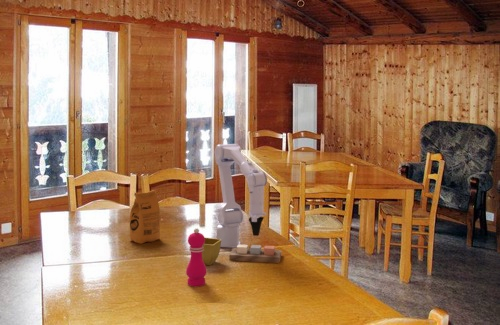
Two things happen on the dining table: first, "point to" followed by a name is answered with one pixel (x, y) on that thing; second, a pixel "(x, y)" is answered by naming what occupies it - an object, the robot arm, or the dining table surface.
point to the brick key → (269, 250)
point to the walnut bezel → (255, 256)
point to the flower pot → (211, 250)
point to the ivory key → (242, 249)
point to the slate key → (255, 249)
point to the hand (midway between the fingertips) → (256, 235)
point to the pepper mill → (196, 260)
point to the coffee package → (145, 218)
